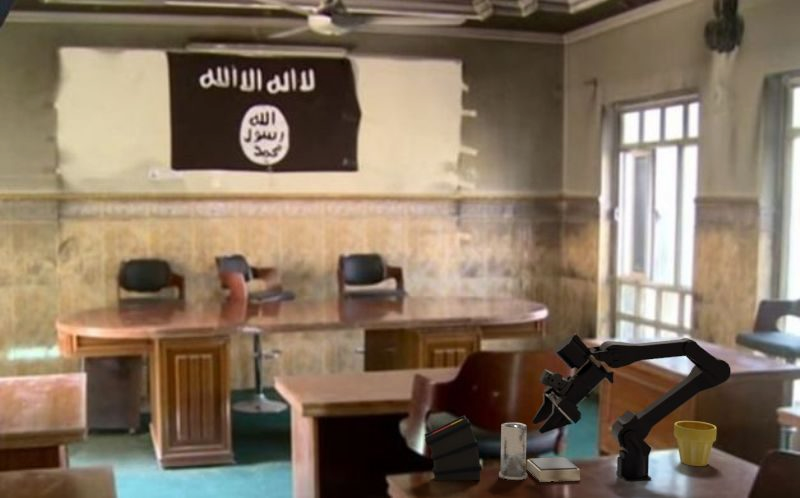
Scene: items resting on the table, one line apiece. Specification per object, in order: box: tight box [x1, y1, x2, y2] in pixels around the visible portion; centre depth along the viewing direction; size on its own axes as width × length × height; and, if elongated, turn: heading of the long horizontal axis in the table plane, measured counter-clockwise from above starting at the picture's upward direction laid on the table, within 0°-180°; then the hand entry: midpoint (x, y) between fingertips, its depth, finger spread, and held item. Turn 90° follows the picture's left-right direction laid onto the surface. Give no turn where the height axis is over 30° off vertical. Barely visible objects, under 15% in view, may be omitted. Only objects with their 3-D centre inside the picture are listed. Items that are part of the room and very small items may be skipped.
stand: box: [526, 456, 581, 483], centre depth 220 cm, size 10×10×3 cm
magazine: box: [424, 415, 483, 482], centre depth 216 cm, size 4×13×15 cm, turn 94°
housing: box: [498, 422, 528, 481], centre depth 218 cm, size 7×7×12 cm
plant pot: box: [673, 420, 718, 467], centre depth 232 cm, size 10×10×10 cm
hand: (536, 427), depth 218 cm, fingers open, 9 cm apart
